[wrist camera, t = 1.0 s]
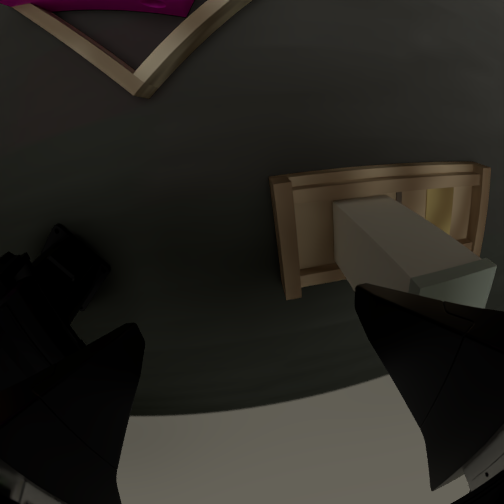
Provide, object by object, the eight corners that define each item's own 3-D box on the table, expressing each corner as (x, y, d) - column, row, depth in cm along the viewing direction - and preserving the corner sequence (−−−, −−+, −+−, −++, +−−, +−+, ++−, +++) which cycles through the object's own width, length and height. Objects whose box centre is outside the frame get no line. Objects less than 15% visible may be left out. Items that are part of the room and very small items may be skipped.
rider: (332, 262, 22) (398, 374, 12) (330, 199, 20) (420, 288, 10) (385, 252, 22) (469, 346, 12) (388, 193, 20) (497, 265, 10)
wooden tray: (281, 282, 25) (286, 300, 22) (268, 176, 21) (273, 184, 18) (464, 246, 24) (479, 257, 22) (472, 161, 20) (490, 167, 18)
